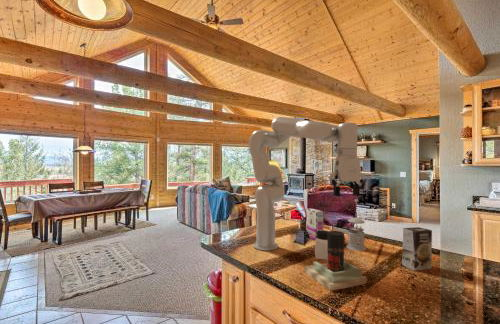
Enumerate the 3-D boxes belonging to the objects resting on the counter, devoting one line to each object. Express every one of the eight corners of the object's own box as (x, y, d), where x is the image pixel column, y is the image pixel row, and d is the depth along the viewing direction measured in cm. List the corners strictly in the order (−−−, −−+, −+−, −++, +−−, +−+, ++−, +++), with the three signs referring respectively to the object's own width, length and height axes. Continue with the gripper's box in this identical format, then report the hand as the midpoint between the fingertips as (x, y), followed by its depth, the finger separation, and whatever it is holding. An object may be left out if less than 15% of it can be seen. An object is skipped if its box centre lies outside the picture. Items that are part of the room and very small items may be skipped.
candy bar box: (323, 240, 142) (324, 211, 142) (316, 241, 140) (316, 211, 140) (313, 235, 152) (313, 208, 152) (305, 235, 151) (306, 208, 151)
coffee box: (415, 271, 103) (415, 231, 103) (401, 265, 109) (402, 227, 109) (432, 269, 105) (432, 230, 105) (418, 263, 112) (418, 226, 112)
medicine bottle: (332, 260, 113) (332, 233, 113) (315, 259, 114) (316, 232, 114) (330, 254, 120) (330, 229, 120) (314, 253, 121) (315, 228, 121)
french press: (362, 244, 135) (363, 198, 136) (370, 252, 124) (371, 201, 124) (343, 244, 136) (344, 197, 136) (349, 251, 125) (350, 200, 125)
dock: (304, 271, 101) (304, 258, 101) (337, 266, 107) (337, 254, 107) (330, 290, 86) (330, 276, 86) (366, 283, 92) (366, 269, 92)
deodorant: (324, 269, 98) (325, 230, 98) (339, 269, 99) (339, 230, 99) (330, 276, 92) (331, 235, 92) (346, 275, 93) (347, 235, 93)
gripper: (335, 152, 97) (334, 197, 97) (371, 153, 102) (370, 196, 102) (323, 153, 104) (323, 195, 104) (357, 154, 109) (356, 193, 109)
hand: (346, 195), depth 103 cm, fingers open, 9 cm apart
